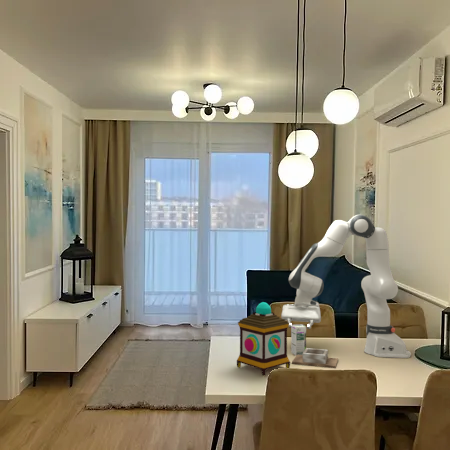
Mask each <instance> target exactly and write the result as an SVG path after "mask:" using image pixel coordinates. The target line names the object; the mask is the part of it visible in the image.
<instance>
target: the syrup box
mask: <svg viewBox="0 0 450 450" xmlns="http://www.w3.org/2000/svg"><path fill="white" fill-rule="evenodd" d="M290 328H291V329H290V331H291V337H290V338H291V339H290V342H291V343H290V344H291V345H290V346H291V348H290V349H291V352H290V353H291V354H292V355H294V356H295V357H296V355H303V352H304V351H305V349H306V348H307V325H305V324H301V323H300V324H292V325H291V327H290Z"/></svg>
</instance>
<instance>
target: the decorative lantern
mask: <svg viewBox="0 0 450 450" xmlns="http://www.w3.org/2000/svg"><path fill="white" fill-rule="evenodd" d="M237 325H238V327H239V355H238V357H237V360H236V367H237V368H238V369H239V368H241V366H242V365H241V364H244V365H246V366H250V367H252V368H256V369H259V370H260V371H261V374H262V376H263V377H265V376H266V372H267V370H269V369H273V368H276V367H281V366H284V365H285V368H286V369H287V368H289V369H290V368H291V361H290V359H289V357H288V328H289V323H288V321H287V320H285V319H282V317H279V316H278V315H277V314H276V313H275V312H272V308H271V306H270V304H268V303H267V302H264V301H262V302H260V303H258V305H257V306H256V308H255V311H254V312H252V313H251V314H250V315H248V316H247V317H242V318H241V319H240V320H239V321H237Z"/></svg>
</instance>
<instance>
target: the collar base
mask: <svg viewBox="0 0 450 450" xmlns="http://www.w3.org/2000/svg"><path fill="white" fill-rule="evenodd" d="M338 362H339V358H337V357H329V350H328V349H322V348H321V349H320V348H312V347H311V348H309V347H306V349H305V351H304V352H303V355H296V356H295V357H294V358H293V360H291V364H292V365H301V366H308V367H320V368H321V367H322V368H330V369H336V367H337V365H338Z"/></svg>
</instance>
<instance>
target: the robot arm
mask: <svg viewBox="0 0 450 450" xmlns="http://www.w3.org/2000/svg"><path fill="white" fill-rule="evenodd" d="M351 236H356V237H360V238H363V239H364V240H365V250H366V251H365V253H366V256H365V257H366V265H367V268H368V269H369V273H370V274H369V275H366V276H364V277H363V278H362V280H361V283H360V284H361V289H362V291H363V293H364V298H365V304H366V308H367V311H366V312H367V313H366V314H367V318H366V319H367V322H366V325H365V326H366V327H365V328H366V329H365V330H366V331H365V332H366V340H365V347H364V349H363V352H364V353H366V354H368V355H372V356H375V357H377V358H399V359H401V358H402V359H409V358H410V357H411V356H412V355H411V354H412V353H411V351H410V350H408V349H407V347H406V342H405V341H404V339H402V338H401V337H400V336H399V335H397V334H396V333H395V332H396V328H395V327H394V326H393V325H391V309H390V307H389V305H388V302H387V300H391V299H393V298H395V297H396V296H397V295H398V292H399V286H398V284H397V282H396V281H395V279H394V277H393V273H392V272H393V271H392V269H391V263H390V247H389V238H388V233H387V231H386V230H385V229H384V228H383V227H380V226H377V227H376V226H375V225H374V224H373V222H372V220H371V219H370V218H369V217H368V216H367V215H364V214H356V215H353V216H352V217H351V218H350V219H348V220H347V221H345V220H342V219H337V220H334V221H332V223H331V225H330V226H329V227H328V229H327V230H326V233H325V235H324V236H323V237H322V239H321V240H320V241H318V242H316V243H313V244H312V245H311V246H310V248H308V250H307V252H306V253H305V255H304V256H303V257H302V258H301V259H300V262H299V263H298V264H297V266H296V267H295V268H294V269H293V270H292V271H291V273H290V274H289V277H288V283H289V285H290V287H291V288H294V289H296V294H295V295H296V296H295V299H294V303H292V304H290V303H287V304H284V305H283V306H282V311H281V315H280V316H281V317H280V318H282V319H285V321H287V322H288V323H289V326H288V328H291V325H293V323H292V322H304V323H308V324H307V325H306V330H311V328H312V326H313V325H314V323H315V324H316V323H317V324H318V323H320V322H321V320H322V316H321V315H322V314H321V309H320V304H319V302H318V301H316V300H313V298H314V299H315V298H317V297H319V296H320V295H321V294H322V293H323V290H324V287H325V285H324V281H323V279H322V278H320V277H318V276H316V275H313V274H311V273H309V272H306V270H307V269H308V268H309V265H310V264H311V263H312V261H313V260H314V259H315V258H319V257H322V258H323V257H324V258H325V257H328V258H332V257H335V256H338V255H339V254H340V253H341V252H342V250H343V248H344V246H345V244H346V242H347V240H348V239H349V238H350V237H351Z"/></svg>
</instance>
